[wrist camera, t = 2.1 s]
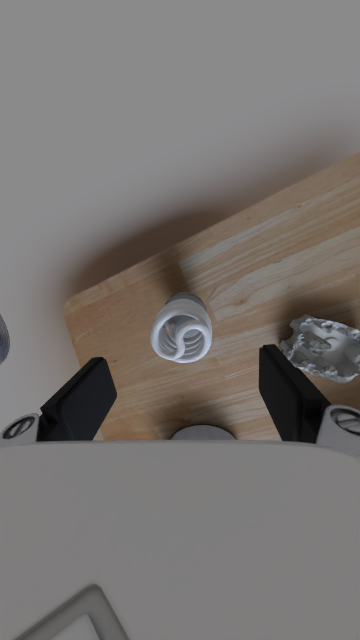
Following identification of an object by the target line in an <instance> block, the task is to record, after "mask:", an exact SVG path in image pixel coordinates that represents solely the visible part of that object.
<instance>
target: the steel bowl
mask: <svg viewBox="0 0 360 640" xmlns="http://www.w3.org/2000/svg"><path fill="white" fill-rule="evenodd" d="M171 440H236V439H235V438H234V437H233V436H232V435H231V434H230V433H228V432H226V431H224V430H222V429H220V428H217V427H213V426H209V425H196V426H191V427H187V428H184V429H182V430H181V431H179V432H177V433H176V434H175V435H174V436H173V437H172V438H171Z"/></svg>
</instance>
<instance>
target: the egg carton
mask: <svg viewBox="0 0 360 640" xmlns="http://www.w3.org/2000/svg"><path fill="white" fill-rule="evenodd" d="M289 326H290V327H292V328H293V332H294V333H293V335H292V337H291V338H289V339H287V340H282V341H281V343H280V345H279V347H280V348H281V349H282V350H283V354H284V355H285V356H286V357H287V358H288V360H289V361H290V362H291V363H292V364H293V365H294V366H295V367H298V368H299V369H301V370H303V371H304V370H305V371H307V372H309V373H311V374H315V375H318V376H321V377H325V378H328V379H331V380H333V381H336V382H339V383H347V382H349V381H351V380H352V379H353V378H354V376H356V375H359V373H358V371H359V370H360V330H359V329H356V328H353V327H348V326H346V325H344V324H341V323H338V322H333V321H328V320H323V319H316V318H313V317H312V316H309V315H303V316H302V317H301V318H299V319H295V320H292V322H291V324H290V325H289Z"/></svg>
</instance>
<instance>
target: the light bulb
mask: <svg viewBox="0 0 360 640" xmlns="http://www.w3.org/2000/svg"><path fill="white" fill-rule="evenodd" d="M164 325H165V326H164ZM165 327H166V328H167V330H168V331H169V334H170V337H171V338H170V337H169V336H168V334H167V333H166V330H165ZM197 333H198V334H197ZM196 334H197V335H196ZM194 335H195V336H194ZM191 336H193V337H191ZM150 337H151V344H152V347H153V349H154V350H155V352H156V353H157V354H158V355H159V356H161V357H163V358H165V359H170V360H173V361H176V362H180V363H189V362H193V361H196V360H198V359H200V358H202V357H203V356H204V355H205V354H206V353H207V352H208V350H209V348H210V346H211V342H212V328H211V321H210V318H209V316H208V315H207V311H206V307H205V305H204V304H203V302H202V300H201V299H200V298H199V297H198V296H197V295H195V294H193V293H190V292H181V293H177V294H176V295H174V296H172V297H171V298H170V299H169V300H168V301H167V302H166V304H165V306H164V307H163V308H162V309H161V310H160V311H159V313H158V314H157V316H156V318H155V320H154V322H153V326H152V329H151V334H150ZM183 337H190V338H183Z"/></svg>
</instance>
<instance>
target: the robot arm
mask: <svg viewBox="0 0 360 640" xmlns="http://www.w3.org/2000/svg"><path fill="white" fill-rule="evenodd" d="M259 391H260V394H261V396H262V398H263V400H264V402H265V404H266V407H267V409H268V411H269V413H270V415H271V417H272V419H273V422H274V424H275V426H276V428H277V430H278V432H279V435H280V437H281V439H282V441H264V440H104V441H92V440H93V438H94V436H95V435H96V433H97V431H98V429H99V428H100V426H101V424H102V422H103V421H104V419H105V417H106V415H107V414H108V412H109V410H110V408H111V407H112V405H113V403H114V401H115V400H116V397H117V392H116V389H115V386H114V383H113V379H112V376H111V373H110V370H109V367H108V364H107V361H106V359H104V358H103V357H95V358H92V359H91V360H90V361H89V362H88V363H86V364H85V365H84V366H83V367H82V368H81V369H80V370H79V371H78V372H77V373H76V374H75V375H74V376H73V377H72V378H71V379H70V380H69V381H68V382H67V383H66V384H65V385H64V386H63V387H62V388H60V389H59V390H58V391H57V392H56V393H55V394H54V395H53V396H52V397H51V398H50V399H49V400H48V401H47V402H46V403H45V404H44V405H43V406H42V407H41V408H40V409H41V411H42V413H43V414H42V415H41V416H39V415H38V414H36V413H32V414H28V415H25V416H22V417H20V418H19V419H17V420H15V421H13V422H12V423H10V424H9V425H8V426H7V427H5V428H4V430H3V431H2V432H1V433H0V640H360V410H358V409H355V408H353V407H350V406H346V405H339V404H336V405H332V404H331V403H330V402H329V401H328V400H327V399H326V397H325V396H324V395H323V394H322V393H321V392H320V391H319V390H318V389H317V388H316V387H315V385H314V384H313V383H312V382H311V381H310V380H309V379H308V378H307V377H306V376H305V375H304V373H303V372H302V371H301V370H300V369H299V368H298V367H295V366H294V365H293V364H292V363H291V362H290V361H289V360H288V358H287V357H286V356H285V355H284V354H283V353H282V352H281V351H280V350H279V348H278V347H277V346H276V345H275V344H271V345H263V348H260V350H259Z"/></svg>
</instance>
